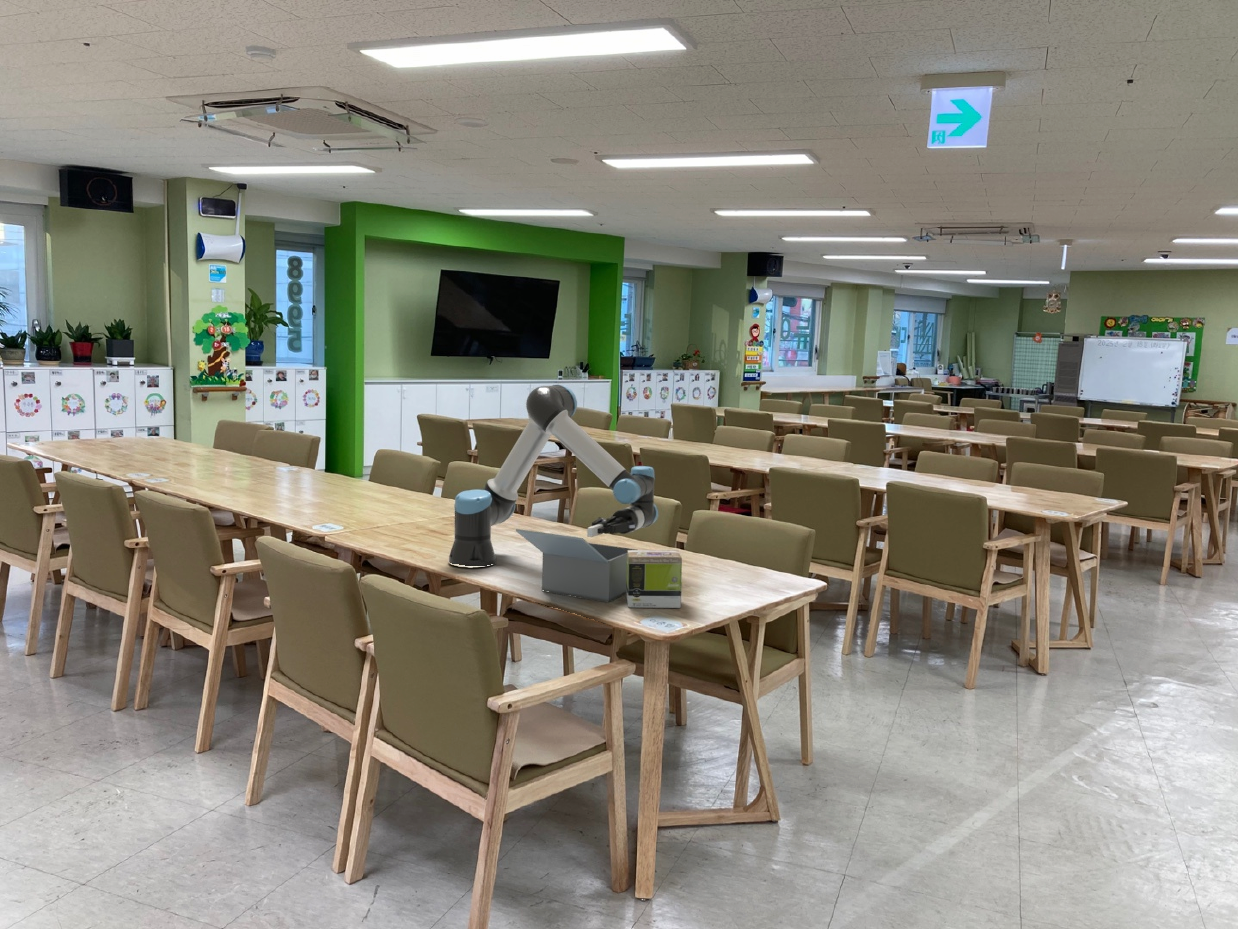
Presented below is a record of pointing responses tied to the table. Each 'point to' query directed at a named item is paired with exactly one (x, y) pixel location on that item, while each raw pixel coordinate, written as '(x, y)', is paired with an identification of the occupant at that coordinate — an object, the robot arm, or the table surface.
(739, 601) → the table surface
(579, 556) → the lid
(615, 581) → the storage box
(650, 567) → the tea box
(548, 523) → the table surface
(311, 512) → the table surface
